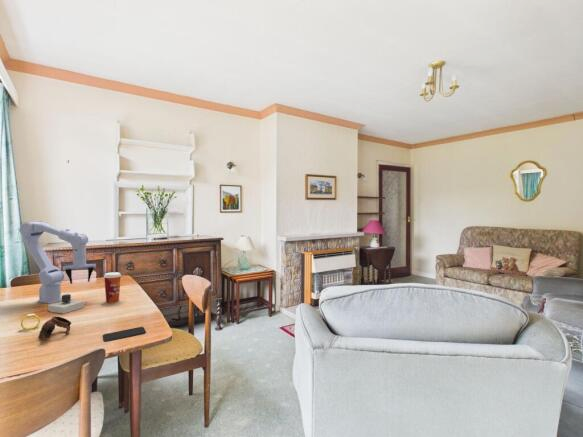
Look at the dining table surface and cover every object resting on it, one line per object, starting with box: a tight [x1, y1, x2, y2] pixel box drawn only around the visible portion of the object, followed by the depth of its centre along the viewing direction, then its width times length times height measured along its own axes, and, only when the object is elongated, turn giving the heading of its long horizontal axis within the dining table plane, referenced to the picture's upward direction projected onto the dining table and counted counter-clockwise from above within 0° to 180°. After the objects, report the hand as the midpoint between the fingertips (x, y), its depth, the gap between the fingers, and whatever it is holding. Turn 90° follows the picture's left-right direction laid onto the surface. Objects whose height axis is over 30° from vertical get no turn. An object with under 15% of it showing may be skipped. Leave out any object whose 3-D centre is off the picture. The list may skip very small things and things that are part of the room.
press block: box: [47, 299, 84, 314], centre depth 152 cm, size 10×10×3 cm
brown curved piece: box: [38, 315, 72, 340], centre depth 121 cm, size 12×9×8 cm
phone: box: [102, 326, 147, 343], centre depth 124 cm, size 7×1×15 cm
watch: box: [20, 313, 41, 330], centre depth 128 cm, size 6×3×6 cm, turn 128°
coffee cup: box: [103, 271, 122, 304], centre depth 166 cm, size 8×8×15 cm
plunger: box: [61, 293, 72, 304], centre depth 152 cm, size 4×4×7 cm
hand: (80, 282), depth 163 cm, fingers open, 7 cm apart
